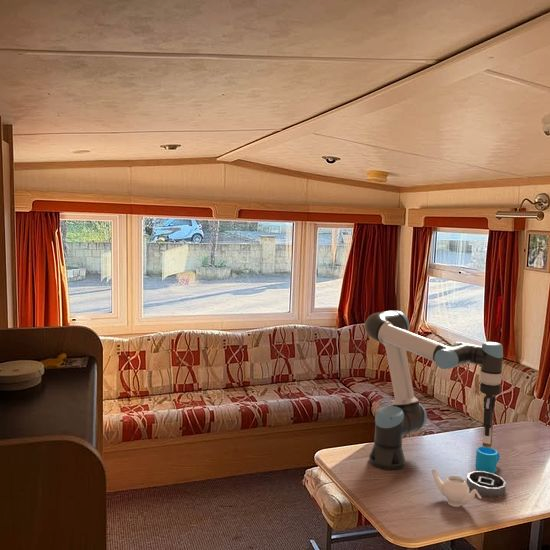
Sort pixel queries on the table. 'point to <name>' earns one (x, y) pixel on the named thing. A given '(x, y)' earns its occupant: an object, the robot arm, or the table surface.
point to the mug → (486, 459)
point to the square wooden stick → (491, 434)
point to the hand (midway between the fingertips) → (487, 441)
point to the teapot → (455, 490)
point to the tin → (486, 483)
